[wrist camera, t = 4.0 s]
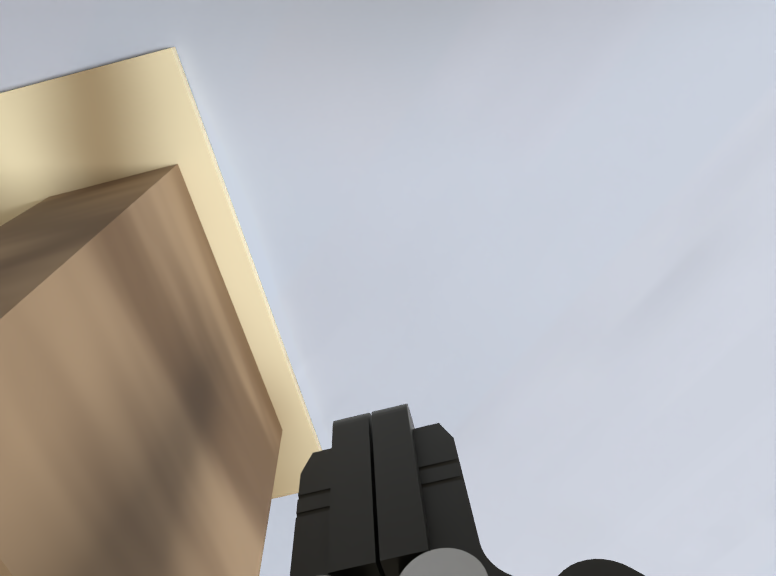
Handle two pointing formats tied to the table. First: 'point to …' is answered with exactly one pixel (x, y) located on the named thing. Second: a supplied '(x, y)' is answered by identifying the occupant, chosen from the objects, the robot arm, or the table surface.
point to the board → (138, 155)
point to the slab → (127, 392)
